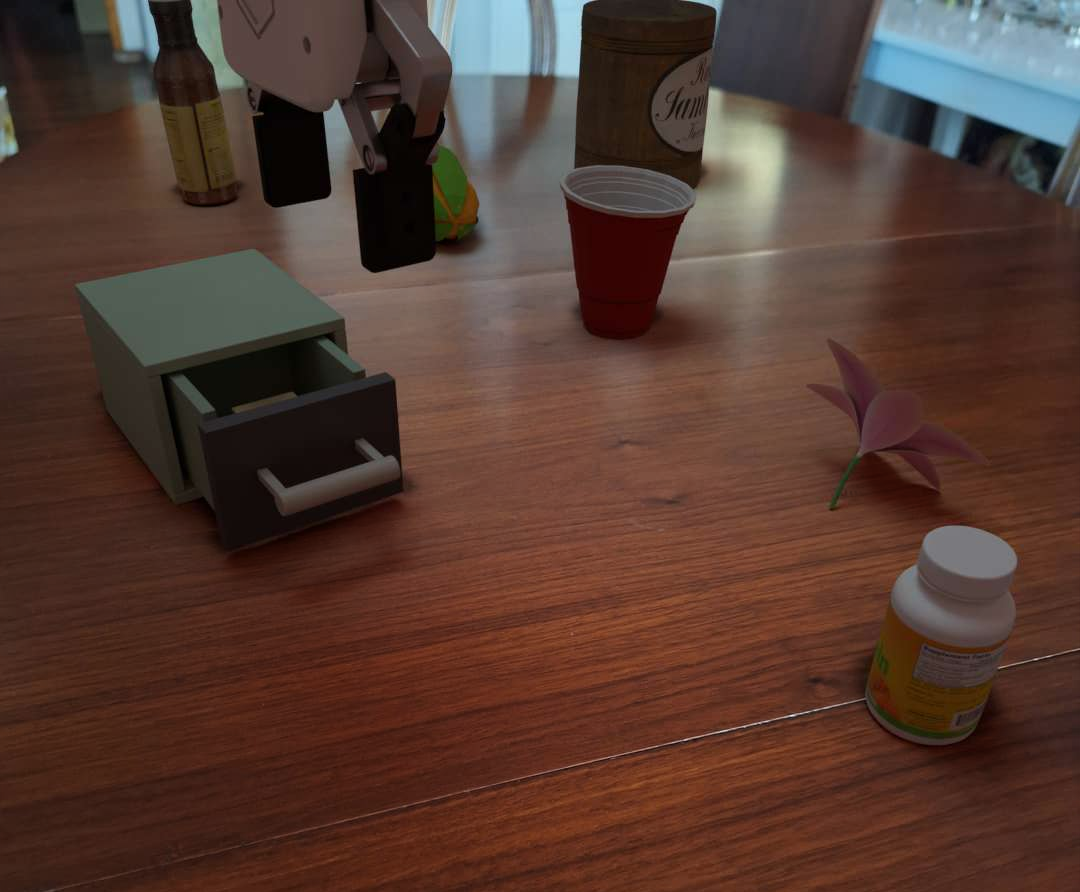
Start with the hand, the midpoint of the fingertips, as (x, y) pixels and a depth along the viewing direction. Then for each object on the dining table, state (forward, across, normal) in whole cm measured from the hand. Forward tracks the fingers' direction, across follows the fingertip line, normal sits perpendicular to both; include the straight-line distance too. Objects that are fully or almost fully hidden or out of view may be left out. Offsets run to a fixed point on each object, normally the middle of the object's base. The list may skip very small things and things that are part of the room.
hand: (345, 230), depth 46 cm
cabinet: (+21, -22, 0) cm, 31 cm away
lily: (+21, +8, +32) cm, 39 cm away
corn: (+21, -52, +34) cm, 66 cm away
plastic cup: (+21, -21, +34) cm, 45 cm away
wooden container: (+21, -53, +62) cm, 84 cm away
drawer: (+20, -12, 0) cm, 23 cm away
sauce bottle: (+21, -72, +17) cm, 77 cm away
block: (+19, -12, 0) cm, 22 cm away
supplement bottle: (+21, +23, +18) cm, 36 cm away
